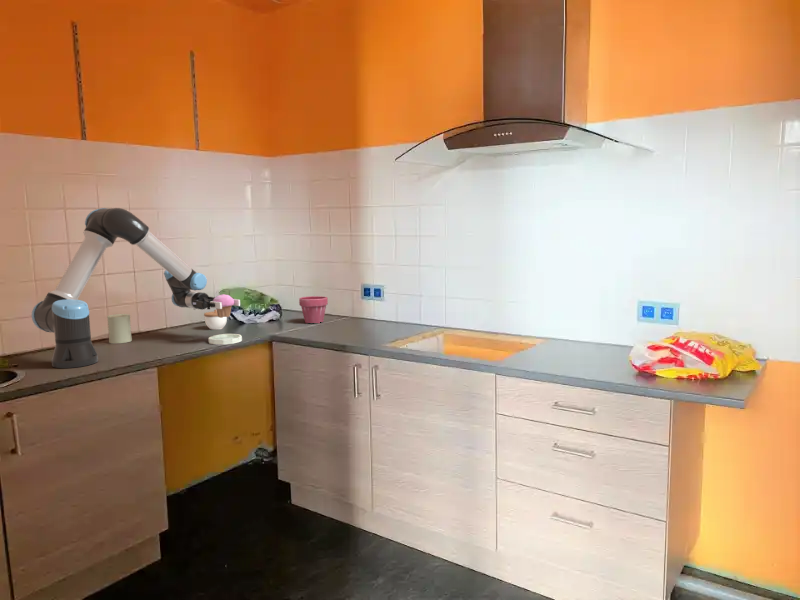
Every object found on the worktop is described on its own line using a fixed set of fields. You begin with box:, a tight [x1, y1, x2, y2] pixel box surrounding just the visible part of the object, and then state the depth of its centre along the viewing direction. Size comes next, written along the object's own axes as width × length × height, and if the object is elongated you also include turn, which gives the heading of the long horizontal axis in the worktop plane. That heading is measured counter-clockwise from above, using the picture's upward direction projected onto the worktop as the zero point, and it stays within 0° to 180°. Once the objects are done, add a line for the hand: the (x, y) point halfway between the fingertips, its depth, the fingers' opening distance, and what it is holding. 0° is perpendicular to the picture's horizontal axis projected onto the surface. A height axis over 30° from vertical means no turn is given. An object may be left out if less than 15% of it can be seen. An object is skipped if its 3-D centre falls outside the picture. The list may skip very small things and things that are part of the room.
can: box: [106, 313, 133, 345], centre depth 263 cm, size 9×9×12 cm
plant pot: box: [298, 295, 329, 324], centre depth 305 cm, size 14×14×13 cm
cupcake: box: [213, 293, 235, 318], centre depth 258 cm, size 9×9×10 cm
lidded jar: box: [203, 308, 228, 331], centre depth 292 cm, size 11×11×9 cm
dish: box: [208, 333, 243, 346], centre depth 260 cm, size 14×14×2 cm
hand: (230, 304), depth 256 cm, fingers closed on cupcake, 9 cm apart
